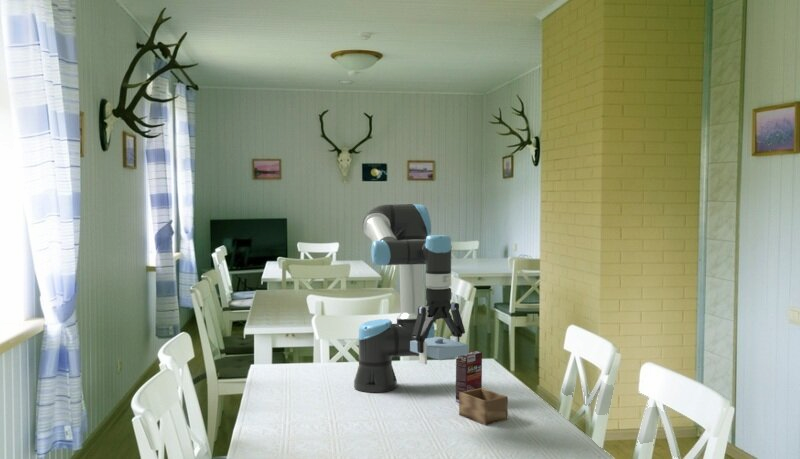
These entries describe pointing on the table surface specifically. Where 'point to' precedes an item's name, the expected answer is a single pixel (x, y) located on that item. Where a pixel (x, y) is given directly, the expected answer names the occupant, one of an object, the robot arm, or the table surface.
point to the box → (483, 406)
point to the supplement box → (468, 372)
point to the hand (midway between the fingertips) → (438, 360)
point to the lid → (442, 348)
